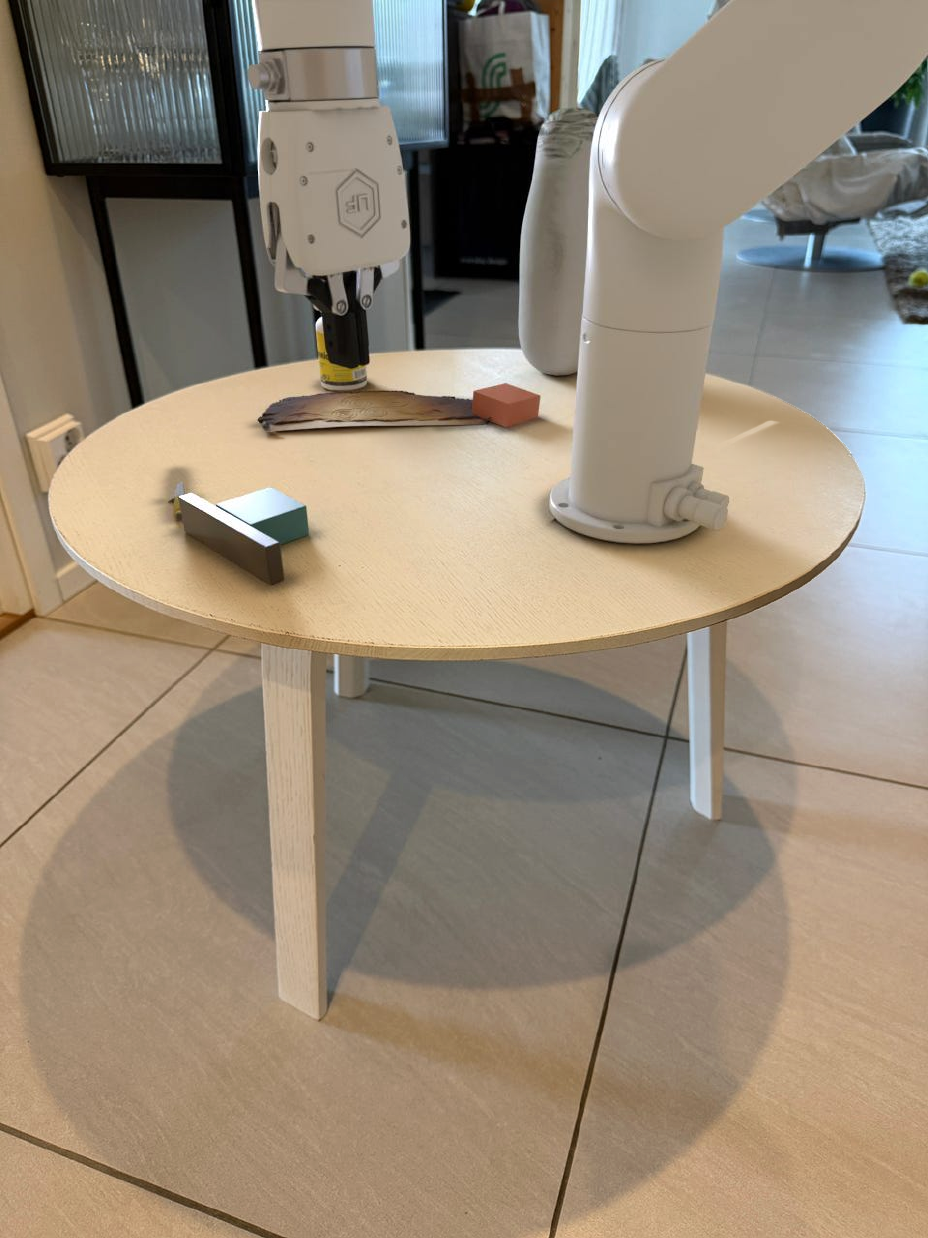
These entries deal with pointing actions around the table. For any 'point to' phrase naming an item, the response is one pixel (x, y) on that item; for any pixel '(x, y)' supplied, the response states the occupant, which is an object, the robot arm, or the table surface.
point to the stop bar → (232, 538)
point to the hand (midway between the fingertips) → (348, 363)
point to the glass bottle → (556, 243)
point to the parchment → (367, 410)
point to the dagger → (177, 500)
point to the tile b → (505, 404)
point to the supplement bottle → (337, 368)
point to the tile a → (270, 514)
